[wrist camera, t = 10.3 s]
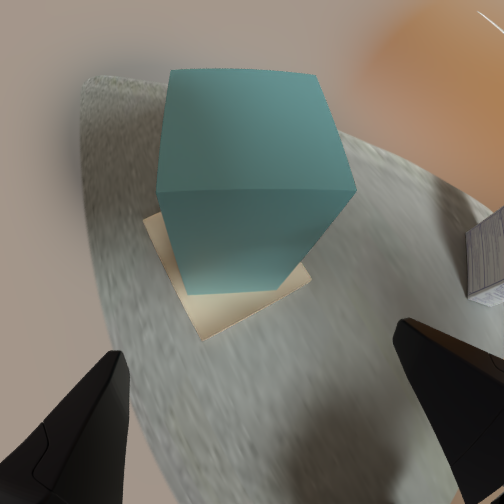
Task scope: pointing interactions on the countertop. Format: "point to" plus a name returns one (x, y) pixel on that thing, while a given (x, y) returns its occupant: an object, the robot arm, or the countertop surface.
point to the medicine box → (486, 260)
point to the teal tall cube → (247, 175)
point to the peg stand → (216, 305)
